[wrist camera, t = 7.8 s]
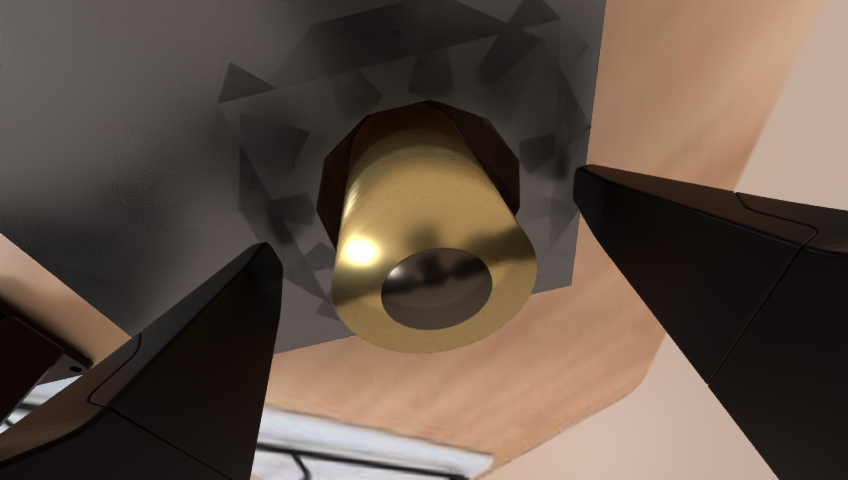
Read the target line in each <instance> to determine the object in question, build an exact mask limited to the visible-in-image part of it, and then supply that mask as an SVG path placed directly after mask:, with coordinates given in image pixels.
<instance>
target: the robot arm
mask: <svg viewBox="0 0 848 480" xmlns="http://www.w3.org/2000/svg"><path fill="white" fill-rule="evenodd" d="M572 195H573V200H574V202H575V204H576V205H577V207H578V209H579V211H580V212H581V214H582V216H583V218H584V219H585V221H586V223H587V224H588V226H589V228H590V230H591V231H592V233H593V235H594V236H595V238H596V239H597V241H598V242H599V244H600V245H601V246H602V248H603V249H604V250H605V252H606V253H607V254H608V256H609V257H610V258H611V260H612V261H613V262H614V263H615V265H616V266H617V267H618V269H619V270H620V271H621V273H622V274H623V275H624V277H625V278H626V279H627V281H628V282H629V283H630V284H631V286H632V287H633V288H634V290H635V291H636V292H637V294H638V295H639V296H640V298H641V299H642V300H643V301H644V303H645V304H646V305H647V307H648V308H649V309H650V311H651V312H652V313H653V315H654V316H655V317H656V319H657V320H658V321H659V322H660V324H661V325H662V326H663V328H664V329H665V330H666V332H667V333H668V334H669V335H670V337H671V338H672V340H673V341H674V342H675V343H676V345H677V346H678V347H679V349H680V350H681V351H682V353H683V354H684V355H685V357H686V358H687V359H688V360H689V362H690V363H691V364H692V366H693V367H694V368H695V370H696V371H697V372H698V373H699V375H700V376H701V378H702V379H703V380H704V381H705V383H706V384H708V387H709V388H710V390H711V391H712V392H713V394H714V395H715V396H716V398H717V399H718V400H719V401H720V403H721V404H722V405H723V407H724V408H725V409H726V410H727V412H728V413H729V415H730V416H731V417H732V418H733V420H734V421H735V422H736V424H737V425H738V426H739V428H740V429H741V430H742V432H743V433H744V434H745V436H746V437H747V438H748V439H749V441H750V442H751V443H752V445H753V446H754V447H755V449H756V450H757V451H758V453H759V454H760V455H761V456H762V458H763V459H764V460H765V462H766V463H767V464H768V465H769V467H770V468H771V470H772V471H773V472H774V474H775V475H776V476H777V478H778V479H779V480H848V211H846V210H839V209H833V208H826V207H820V206H814V205H808V204H801V203H795V202H788V201H783V200H778V199H772V198H767V197H760V196H756V195H750V194H745V193H740V192H736V193H734V192H733V191H729V190H724V189H719V188H713V187H708V186H703V185H698V184H693V183H687V182H682V181H677V180H672V179H666V178H661V177H656V176H651V175H646V174H640V173H635V172H630V171H625V170H619V169H614V168H609V167H604V166H599V165H593V164H590V165H585V166H581V167H578V168H577V169H576V170H575V173H574V182H573V192H572ZM282 286H283V265H282V262H281V261H280V259H279V257H278V256H277V254H276V253H275V251H274V249H273V248H272V246H271V245H270V244H269V243H267V242H261V243H257V244H253V245H251V246H250V247H249V248H247V249H246V250H245V251H243V252H242V253H241V254H240V255H238V256H237V257H236V258H234V259H233V260H232V261H231V262H229V263H228V264H227V265H225V266H224V267H223V268H222V269H220V270H219V271H218V272H216V273H215V274H214V275H213V276H211V277H210V278H209V279H207V280H206V281H205V282H204V283H202V284H201V285H200V286H198V287H197V288H196V289H195V290H193V291H192V292H191V293H189V294H188V295H187V296H186V297H184V298H183V299H182V300H180V301H179V302H178V303H177V304H175V305H174V306H173V307H171V308H170V309H169V310H168V311H166V312H165V313H164V314H162V315H161V316H160V317H159V318H157V319H156V320H155V321H153V322H152V323H151V324H150V325H148V326H147V327H146V328H144V329H143V331H142V332H139V333H138V334H137V335H135V336H134V337H133V338H131V339H130V340H129V341H128V342H126V343H125V344H124V345H122V346H121V347H120V348H118V349H117V350H116V351H114V352H113V353H112V354H111V355H109V356H108V357H107V358H105V359H104V360H103V361H101V362H100V363H99V364H97V365H96V366H94V367H93V368H92V369H91V367H92V366H93V365H94V364H93V362H92V361H91V360H90V359H89V358H87V357H86V356H84V355H83V354H81V353H80V352H78V351H77V350H75V349H74V348H72V347H71V346H69V345H68V344H66V343H65V342H63V341H62V340H60V339H59V338H57V337H56V336H54V335H53V334H51V333H50V332H48V331H47V330H45V329H44V328H42V327H41V326H39V325H38V324H36V323H35V322H33V321H32V320H30V319H29V318H27V317H26V316H24V315H23V314H21V313H20V312H18V311H17V310H15V309H14V308H12V307H11V306H9V305H8V304H6V303H5V302H3V301H2V300H0V426H1V425H2V424H3V423H4V422H5V421H6V420H7V418H8V417H9V416H10V415H11V414H12V413H13V412H14V410H15V409H16V408H17V407H18V406H19V405H20V404H21V403H22V401H23V400H24V399H25V398H26V397H27V396H28V395H29V393H30V392H31V391H32V390H33V389H34V388H35V387H36V385H41V384H45V383H49V382H54V381H58V380H62V379H66V378H71V377H75V376H79V375H82V376H81V377H79V378H78V379H77V380H75V381H74V382H72V383H71V384H70V385H68V386H67V387H65V388H64V389H63V390H61V391H60V392H58V393H57V394H56V395H54V396H53V397H51V398H50V399H49V400H47V401H46V402H44V403H43V404H42V405H40V406H39V407H37V408H36V409H35V410H33V411H32V412H30V413H29V414H28V415H26V416H25V417H23V418H22V419H21V420H19V421H18V422H16V423H15V424H14V425H12V426H11V427H10V428H8V429H7V430H5V431H4V432H2V433H1V434H0V480H250V476H251V471H252V466H253V460H254V455H255V450H256V444H257V439H258V433H259V428H260V423H261V417H262V412H263V407H264V401H265V396H266V391H267V385H268V380H269V374H270V369H271V364H272V358H273V353H274V348H275V342H276V337H277V331H278V326H279V321H280V314H281V303H282Z"/></svg>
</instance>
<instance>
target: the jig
mask: <svg viewBox="0 0 848 480" xmlns="http://www.w3.org/2000/svg"><path fill="white" fill-rule="evenodd" d="M605 5H606V0H0V233H1V234H3V235H4V236H5V237H6V238H8V239H9V240H10V241H11V242H13V243H14V244H15V245H16V246H18V247H19V248H20V249H21V250H23V251H24V252H25V253H27V254H28V255H29V256H30V257H32V258H33V259H34V260H35V261H37V262H38V263H39V264H40V265H42V266H43V267H44V268H45V269H47V270H48V271H49V272H50V273H52V274H53V275H54V276H55V277H57V278H58V279H59V280H60V281H62V282H63V283H64V284H66V285H67V286H68V287H69V288H71V289H72V290H73V291H74V292H76V293H77V294H78V295H79V296H81V297H82V298H83V299H84V300H86V301H87V302H88V303H89V304H91V305H92V306H93V307H94V308H96V309H97V310H98V311H99V312H101V313H102V314H103V315H105V316H106V317H107V318H108V319H110V320H111V321H112V322H113V323H115V324H116V325H117V326H118V327H120V328H121V329H122V330H123V331H125V332H126V333H127V334H128V335H130V336H131V337H132V338H133V337H134V336H135V335H137V334H138V333H139V332H142V331H143V329H144V328H146V327H147V326H148V325H150V324H151V323H152V322H153V321H155V320H156V319H157V318H159V317H160V316H161V315H162V314H164V313H165V312H166V311H168V310H169V309H170V308H171V307H173V306H174V305H175V304H177V303H178V302H179V301H180V300H182V299H183V298H184V297H186V296H187V295H188V294H189V293H191V292H192V291H193V290H195V289H196V288H197V287H198V286H200V285H201V284H202V283H204V282H205V281H206V280H207V279H209V278H210V277H211V276H213V275H214V274H215V273H216V272H218V271H219V270H220V269H222V268H223V267H224V266H225V265H227V264H228V263H229V262H231V261H232V260H233V259H234V258H236V257H237V256H238V255H240V254H241V253H242V252H243V251H245V250H246V249H247V248H249V247H250V246H251V245H253V244H257V243H261V242H267V243H269V244H270V245H271V246H272V248H273V249H274V251H275V253H276V254H277V256H278V257H279V259H280V261H281V262H282V265H283V286H282V303H281V314H280V321H279V326H278V331H277V337H276V342H275V348H274V353H273V354H276V353H280V352H285V351H289V350H293V349H298V348H302V347H306V346H311V345H315V344H319V343H324V342H328V341H332V340H337V339H341V338H345V337H350V336H354V335H356V334H355V333H354V332H352V331H351V330H350V329H349V328H348V327H347V326H346V325H345V324H344V323H343V321H342V320H341V318H340V317H339V315H338V313H337V311H336V309H335V307H334V303H333V299H332V290H331V285H332V278H333V271H334V264H335V257H336V251H337V244H338V237H339V231H340V224H341V217H342V210H343V204H344V197H343V195H342V192H341V190H340V187H339V185H338V182H337V180H336V177H335V175H334V172H333V170H332V168H331V165H330V163H329V159H330V153H331V151H332V150H333V149H334V148H335V147H336V146H337V145H338V144H339V143H340V142H341V141H342V140H343V139H344V138H345V137H346V136H347V135H348V134H349V133H350V132H351V130H352V129H353V128H354V127H355V126H356V125H357V124H358V123H359V122H360V121H361V120H362V119H363V118H364V117H365V116H366V115H368V114H372V113H376V112H380V111H384V110H389V109H393V108H397V107H401V106H405V105H409V104H413V103H417V102H421V101H426V100H430V99H431V100H434V101H437V102H440V103H443V104H446V105H449V106H452V107H455V108H458V109H461V110H464V111H467V112H470V113H473V114H476V115H479V116H480V117H481V119H482V120H483V121H484V123H485V126H486V139H487V151H488V165H487V168H486V170H485V172H486V174H487V175H488V177H489V178H490V180H491V181H492V183H493V184H494V186H495V187H496V189H497V190H498V192H499V194H500V195H501V197H502V198H503V200H504V201H505V203H506V204H507V206H508V207H509V209H510V210H511V212H512V213H513V215H514V216H515V218H516V220H517V221H518V223H519V224H520V226H521V227H522V229H523V230H524V232H525V233H526V235H527V236H528V238H529V239H530V241H531V244H532V246H533V248H534V250H535V254H536V258H537V275H536V280H535V284H534V287H533V289H532V292H531V294H535V293H540V292H544V291H548V290H553V289H557V288H561V287H566V286H570V285H571V282H572V274H573V266H574V258H575V250H576V242H577V233H578V225H579V217H580V211H579V209H578V207H577V205H576V204H575V202H574V200H573V195H572V192H573V182H574V173H575V170H576V169H577V168H578V167H581V166H585V165H586V160H587V152H588V144H589V135H590V128H591V119H592V111H593V103H594V95H595V87H596V78H597V70H598V62H599V54H600V46H601V38H602V29H603V21H604V13H605ZM531 294H530V295H531Z"/></svg>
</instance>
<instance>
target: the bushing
mask: <svg viewBox="0 0 848 480" xmlns="http://www.w3.org/2000/svg"><path fill="white" fill-rule="evenodd" d="M536 275H537V258H536V254H535V250H534V248H533V246H532V244H531V241H530V239H529V238H528V236H527V235H526V233H525V232H524V230H523V229H522V227H521V226H520V224H519V223H518V221H517V220H516V218H515V216H514V215H513V213H512V212H511V210H510V209H509V207H508V206H507V204H506V203H505V201H504V200H503V198H502V197H501V195H500V194H499V192H498V190H497V189H496V187H495V186H494V184H493V183H492V181H491V180H490V178H489V177H488V175H487V174H486V172H485V171H484V169H483V167H482V166H481V164H480V163H479V161H478V160H477V158H476V157H475V155H474V154H473V152H472V151H471V149H470V148H469V146H468V145H467V143H466V141H465V140H464V138H463V137H462V135H461V134H460V132H459V131H458V129H457V128H456V126H455V125H454V123H453V122H452V121H451V120H450V119H449V118H448V117H447V116H446V115H445V114H443V113H442V112H441V111H439V110H437V109H436V108H433V107H431V106H429V105H426V104H422V103H413V104H409V105H405V106H401V107H397V108H393V109H389V110H384V111H380V112H376V113H374V114H372V115H371V116H370V117H369V118H368V119H367V120H366V121H365V122H364V123H363V124H362V126H361V127H360V129H359V130H358V132H357V134H356V136H355V138H354V141H353V145H352V150H351V156H350V163H349V170H348V177H347V183H346V190H345V197H344V204H343V210H342V217H341V224H340V231H339V237H338V244H337V251H336V257H335V264H334V271H333V278H332V285H331V290H332V299H333V303H334V307H335V309H336V311H337V313H338V315H339V317H340V318H341V320H342V321H343V323H344V324H345V325H346V326H347V327H348V328H349V329H350V330H351V331H352V332H354V333H355V334H356V335H357V336H359V337H360V338H362V339H364V340H365V341H367V342H369V343H372V344H374V345H376V346H379V347H382V348H385V349H389V350H393V351H399V352H406V353H433V352H441V351H447V350H452V349H455V348H459V347H463V346H466V345H468V344H471V343H474V342H476V341H478V340H481V339H483V338H485V337H486V336H488V335H490V334H492V333H494V332H495V331H497V330H498V329H500V328H501V327H502V326H504V325H505V324H506V323H507V322H509V321H510V320H511V319H512V318H513V317H514V316H515V315H516V314H517V313H518V312H519V310H520V309H521V308H522V307H523V306H524V304H525V303H526V301H527V299H528V298H529V296H530V294H531V292H532V289H533V287H534V284H535V280H536Z"/></svg>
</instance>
